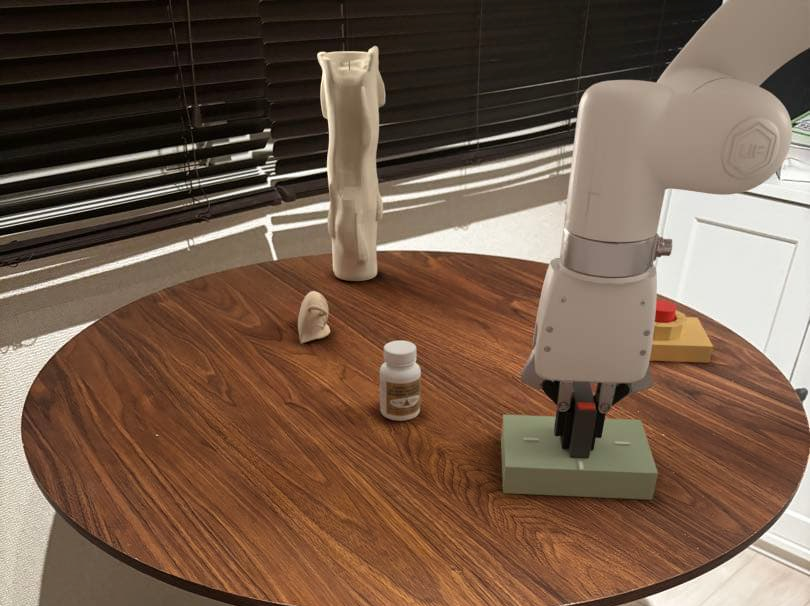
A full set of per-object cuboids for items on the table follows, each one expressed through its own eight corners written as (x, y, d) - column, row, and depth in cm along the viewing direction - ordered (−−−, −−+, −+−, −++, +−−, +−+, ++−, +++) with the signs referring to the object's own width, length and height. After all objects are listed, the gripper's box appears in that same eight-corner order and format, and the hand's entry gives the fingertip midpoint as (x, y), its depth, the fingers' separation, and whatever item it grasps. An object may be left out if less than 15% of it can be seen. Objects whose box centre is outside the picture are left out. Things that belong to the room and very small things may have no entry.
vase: (392, 270, 125) (391, 44, 107) (371, 289, 119) (365, 52, 100) (342, 263, 127) (332, 41, 109) (318, 281, 121) (303, 48, 103)
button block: (693, 333, 107) (700, 303, 104) (709, 363, 100) (716, 332, 97) (602, 330, 107) (606, 300, 105) (610, 359, 100) (616, 328, 98)
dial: (564, 425, 81) (571, 378, 78) (582, 426, 81) (590, 379, 78) (569, 457, 76) (577, 408, 73) (589, 458, 76) (597, 409, 73)
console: (635, 444, 84) (641, 417, 82) (652, 500, 76) (658, 472, 74) (500, 439, 85) (503, 412, 83) (503, 493, 77) (505, 465, 75)
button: (671, 314, 103) (673, 300, 102) (676, 325, 100) (679, 311, 99) (642, 313, 103) (644, 299, 102) (646, 324, 100) (649, 310, 99)
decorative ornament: (328, 321, 109) (326, 282, 106) (331, 347, 103) (329, 306, 100) (298, 322, 109) (295, 283, 106) (299, 348, 102) (296, 307, 99)
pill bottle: (389, 425, 87) (389, 358, 82) (374, 407, 90) (372, 342, 86) (426, 417, 89) (428, 351, 84) (410, 399, 92) (410, 335, 87)
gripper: (692, 240, 70) (651, 426, 81) (510, 234, 71) (494, 419, 82) (712, 270, 64) (664, 466, 75) (512, 263, 65) (495, 459, 76)
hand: (576, 441), depth 79 cm, fingers closed, pressing on console, dial
